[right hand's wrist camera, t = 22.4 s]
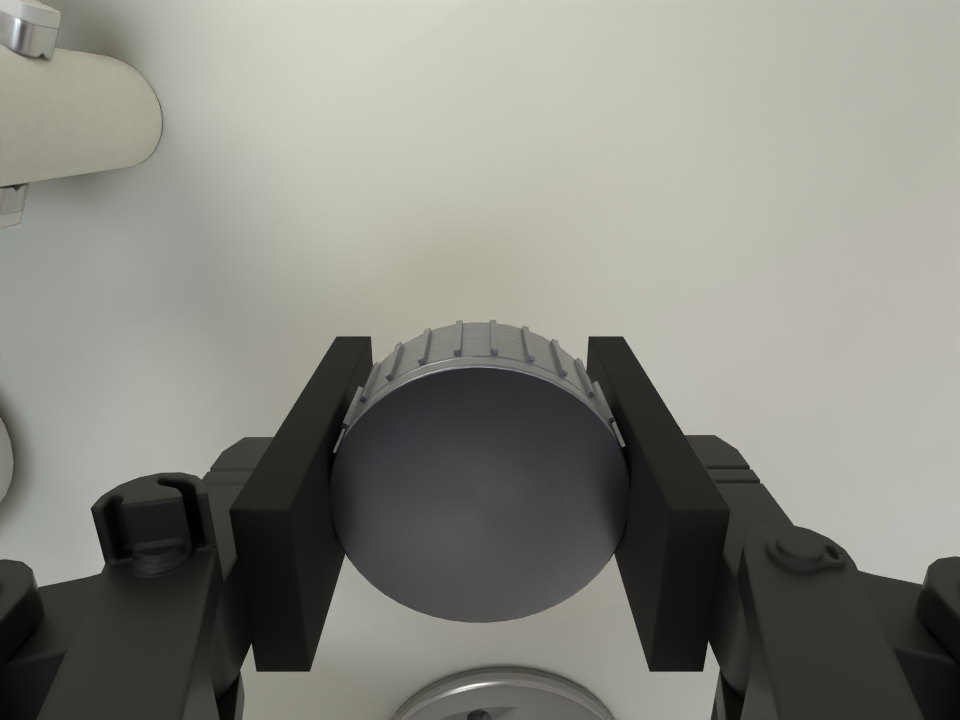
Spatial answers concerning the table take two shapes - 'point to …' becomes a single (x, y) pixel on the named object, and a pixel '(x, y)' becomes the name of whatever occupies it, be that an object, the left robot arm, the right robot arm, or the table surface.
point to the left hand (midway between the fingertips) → (30, 123)
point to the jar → (72, 115)
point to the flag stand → (5, 461)
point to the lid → (479, 475)
